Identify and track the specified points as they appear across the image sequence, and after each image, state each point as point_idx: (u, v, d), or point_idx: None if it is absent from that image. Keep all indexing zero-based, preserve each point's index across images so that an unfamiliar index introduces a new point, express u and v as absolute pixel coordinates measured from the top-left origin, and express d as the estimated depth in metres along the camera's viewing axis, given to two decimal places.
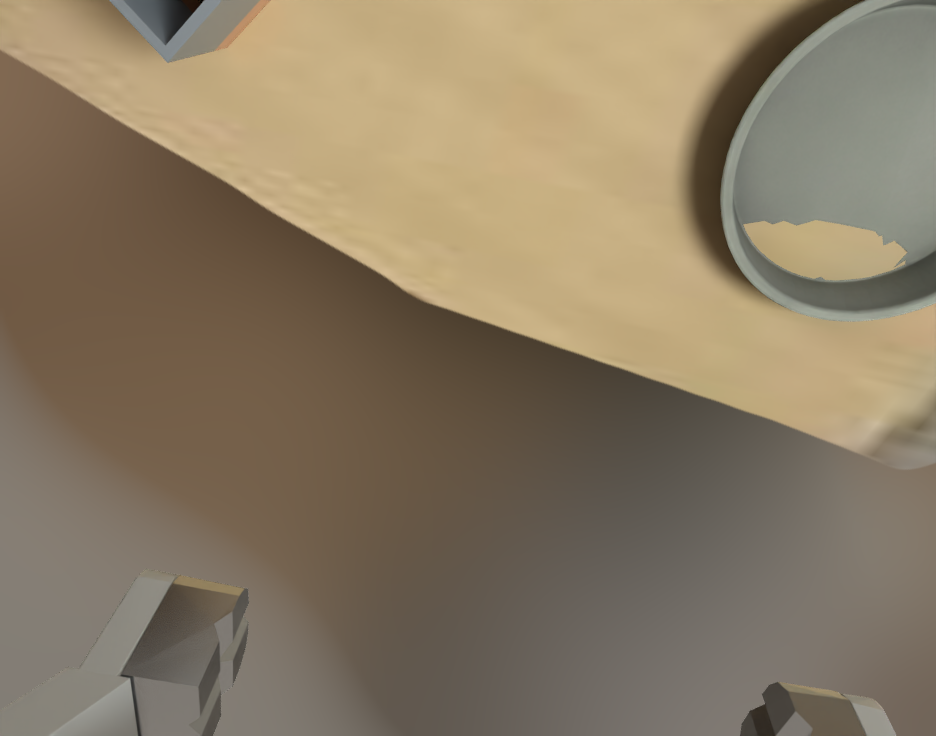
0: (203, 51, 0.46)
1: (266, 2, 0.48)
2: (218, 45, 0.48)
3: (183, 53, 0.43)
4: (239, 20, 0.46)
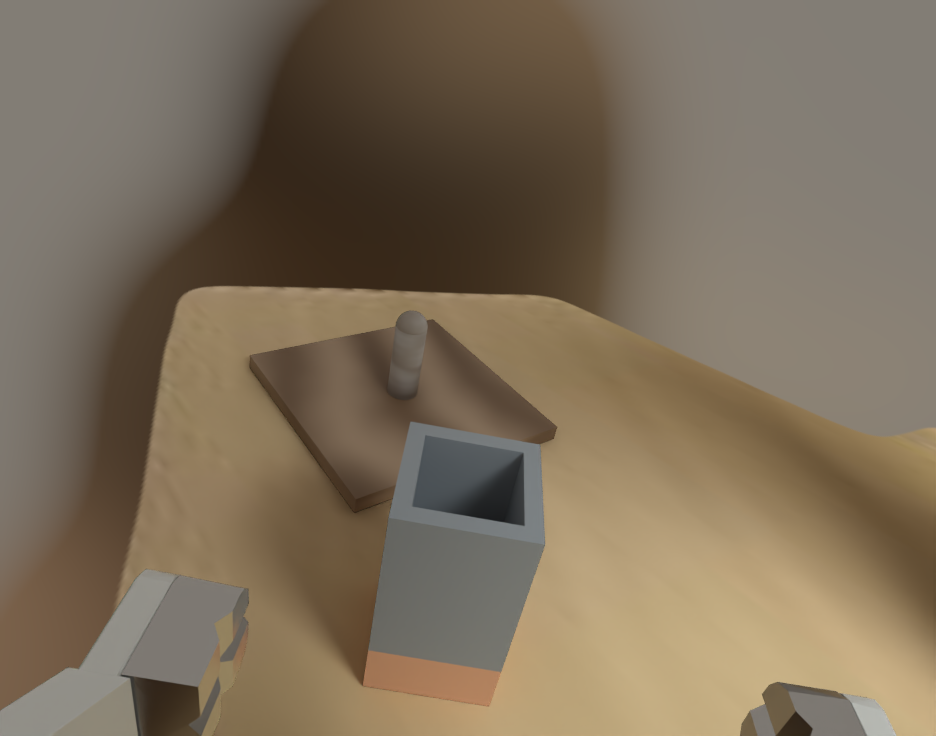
0: (381, 614, 0.25)
1: (476, 698, 0.27)
2: (382, 650, 0.26)
3: (402, 549, 0.23)
4: (448, 655, 0.26)
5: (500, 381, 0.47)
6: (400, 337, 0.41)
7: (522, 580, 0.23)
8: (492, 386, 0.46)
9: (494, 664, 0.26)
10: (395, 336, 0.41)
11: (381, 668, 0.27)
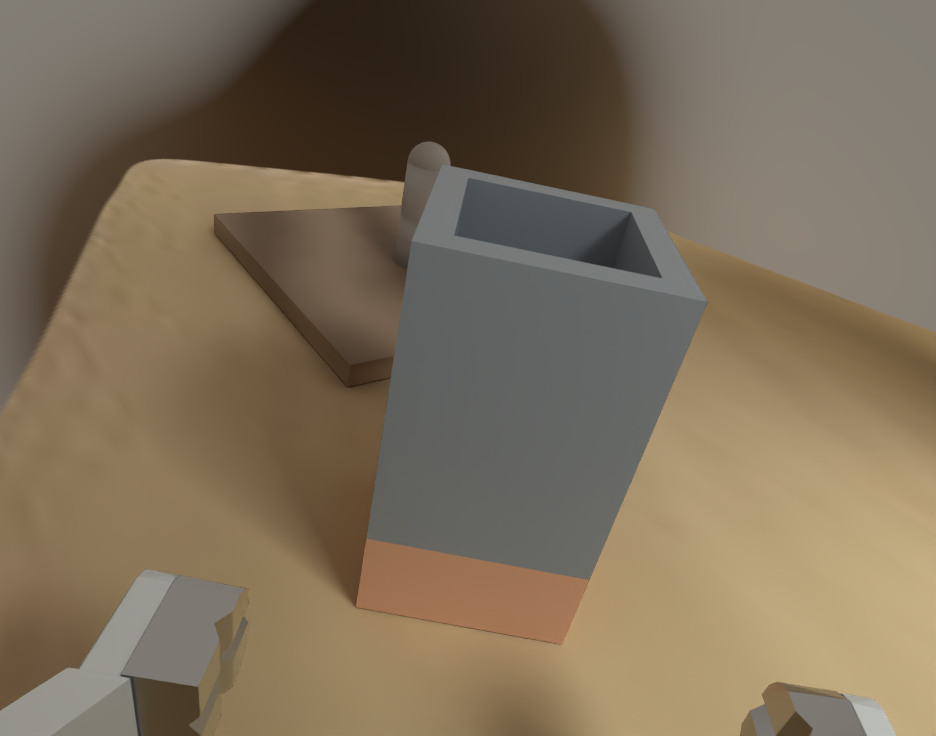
0: (390, 464, 0.14)
1: (543, 629, 0.17)
2: (390, 538, 0.15)
3: (434, 318, 0.12)
4: (502, 547, 0.15)
5: None
6: (414, 175, 0.30)
7: (652, 387, 0.13)
8: None
9: (579, 565, 0.15)
10: (407, 176, 0.31)
11: (387, 574, 0.16)
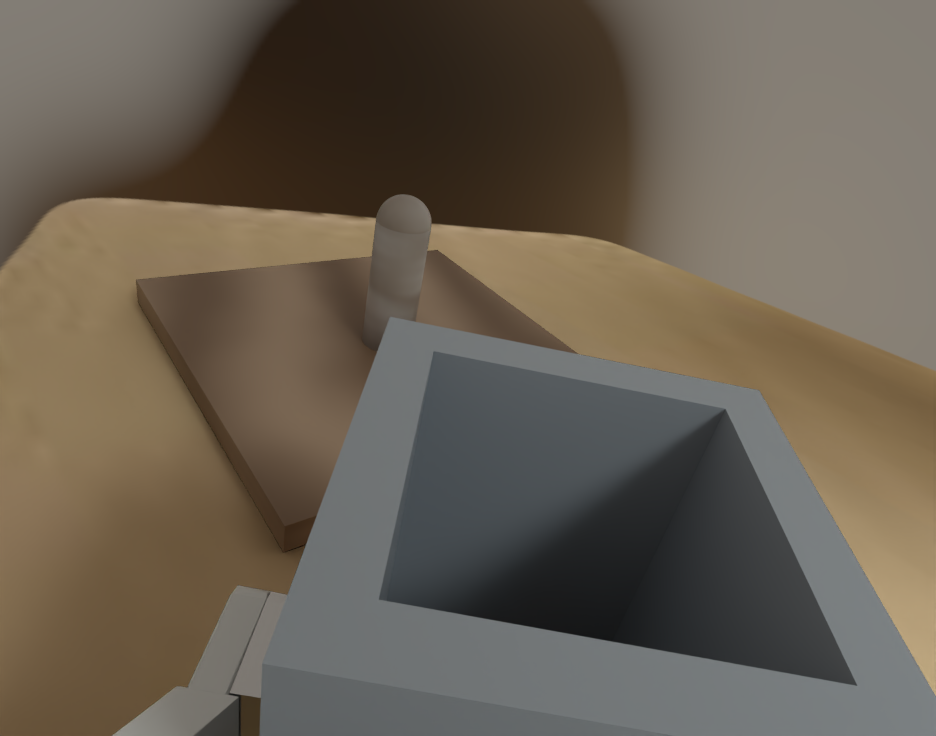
0: None
1: None
2: None
3: None
4: None
5: (544, 333, 0.29)
6: (383, 239, 0.23)
7: None
8: (533, 340, 0.29)
9: None
10: (375, 239, 0.24)
11: None
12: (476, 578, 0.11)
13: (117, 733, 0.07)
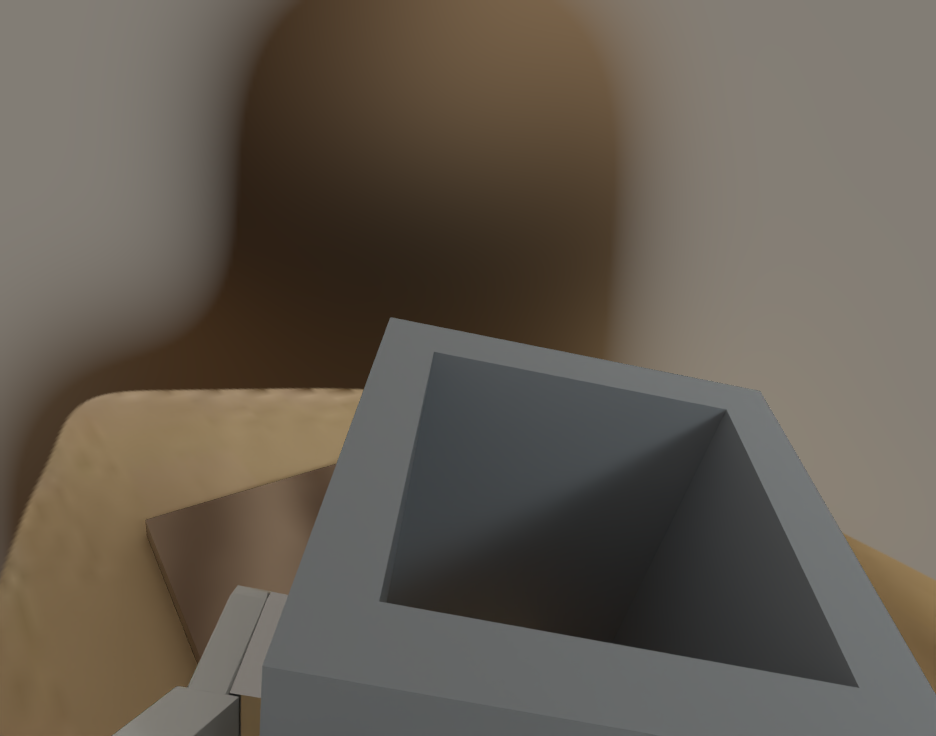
0: None
1: None
2: None
3: None
4: None
5: None
6: None
7: None
8: None
9: None
10: None
11: None
12: (477, 579, 0.11)
13: (117, 733, 0.07)
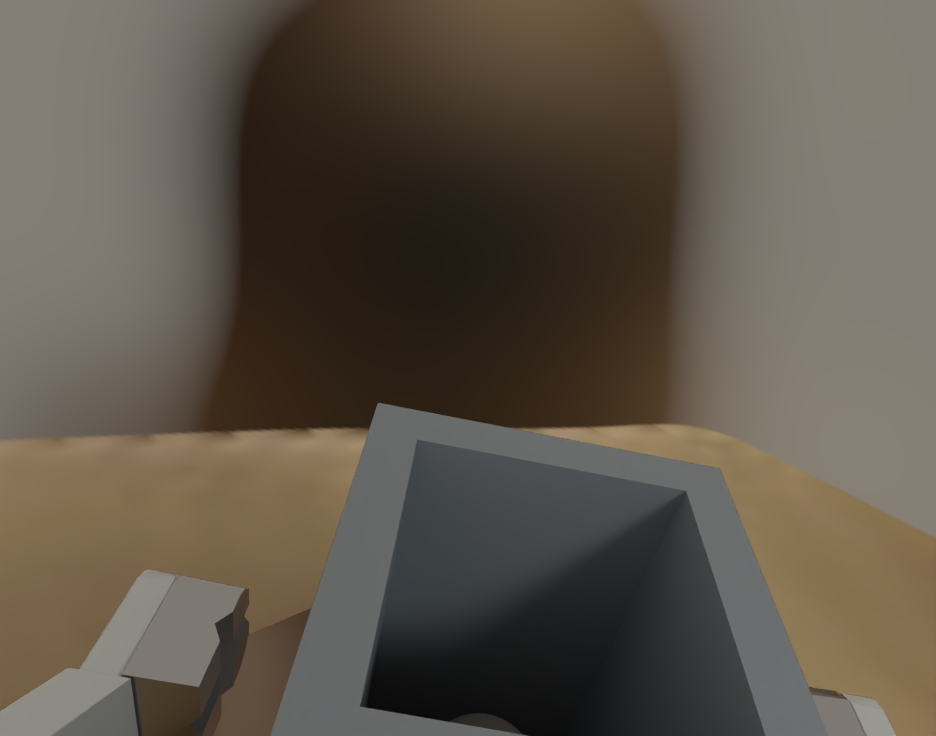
0: None
1: None
2: None
3: None
4: None
5: None
6: None
7: None
8: None
9: None
10: None
11: None
12: (460, 634, 0.12)
13: None
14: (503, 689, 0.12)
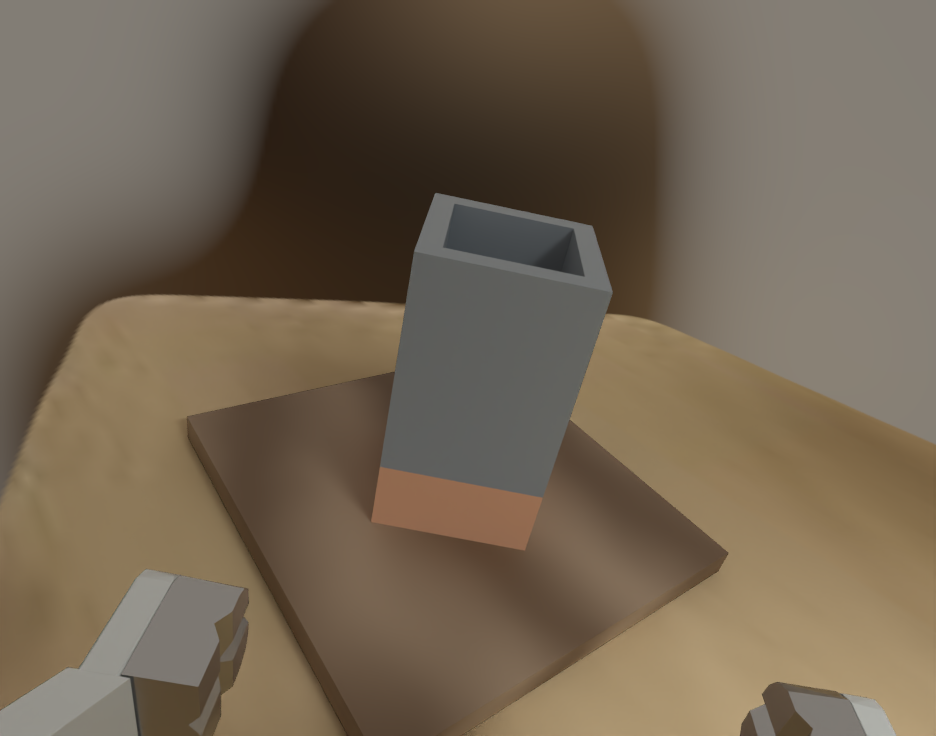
0: (398, 409, 0.20)
1: (510, 538, 0.22)
2: (397, 466, 0.21)
3: (429, 303, 0.18)
4: (479, 472, 0.21)
5: (612, 461, 0.28)
6: None
7: (579, 351, 0.18)
8: (602, 471, 0.27)
9: (535, 486, 0.21)
10: None
11: (395, 494, 0.22)
12: None
13: None
14: None
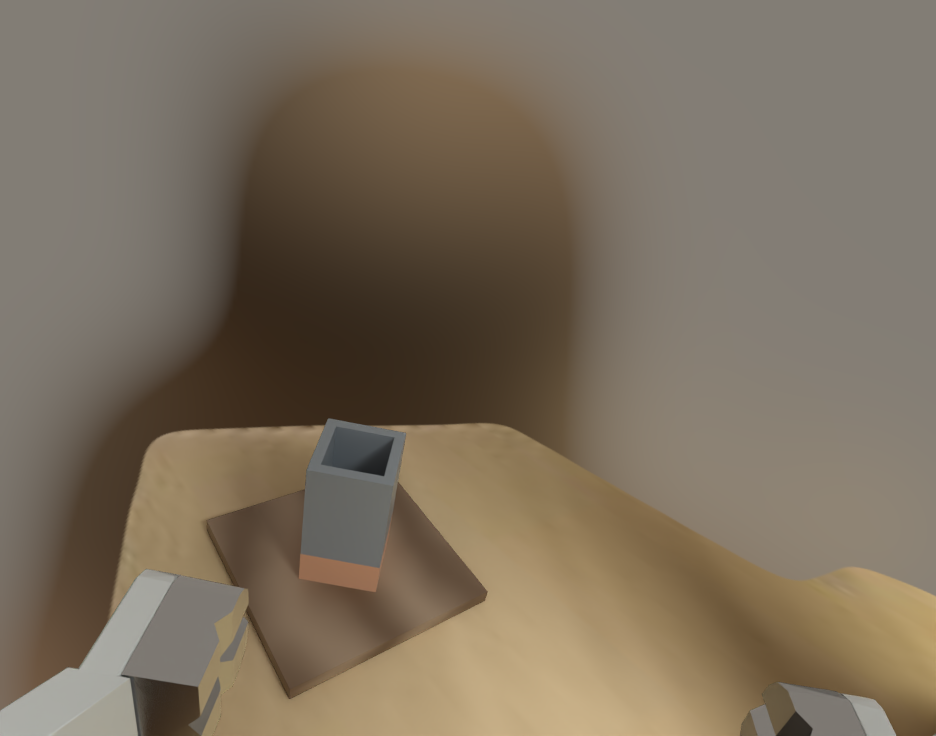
0: (306, 529, 0.43)
1: (367, 586, 0.45)
2: (308, 553, 0.44)
3: (315, 488, 0.41)
4: (347, 556, 0.44)
5: (440, 538, 0.51)
6: None
7: (384, 507, 0.41)
8: (431, 545, 0.50)
9: (375, 562, 0.44)
10: None
11: (309, 566, 0.45)
12: None
13: None
14: None
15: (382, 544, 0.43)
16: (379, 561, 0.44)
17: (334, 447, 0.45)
